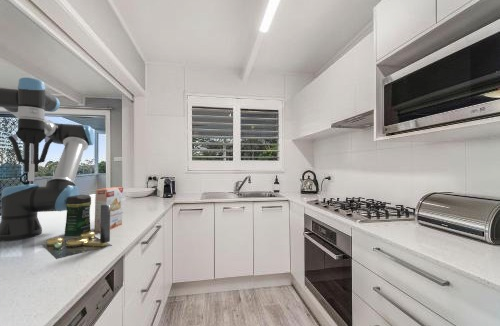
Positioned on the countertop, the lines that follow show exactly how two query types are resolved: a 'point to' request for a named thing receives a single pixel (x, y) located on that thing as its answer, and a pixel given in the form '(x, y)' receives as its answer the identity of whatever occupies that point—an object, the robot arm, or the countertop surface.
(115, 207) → the cracker box
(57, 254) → the levelling plate
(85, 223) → the coffee jar
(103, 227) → the crank handle
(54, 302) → the countertop surface
